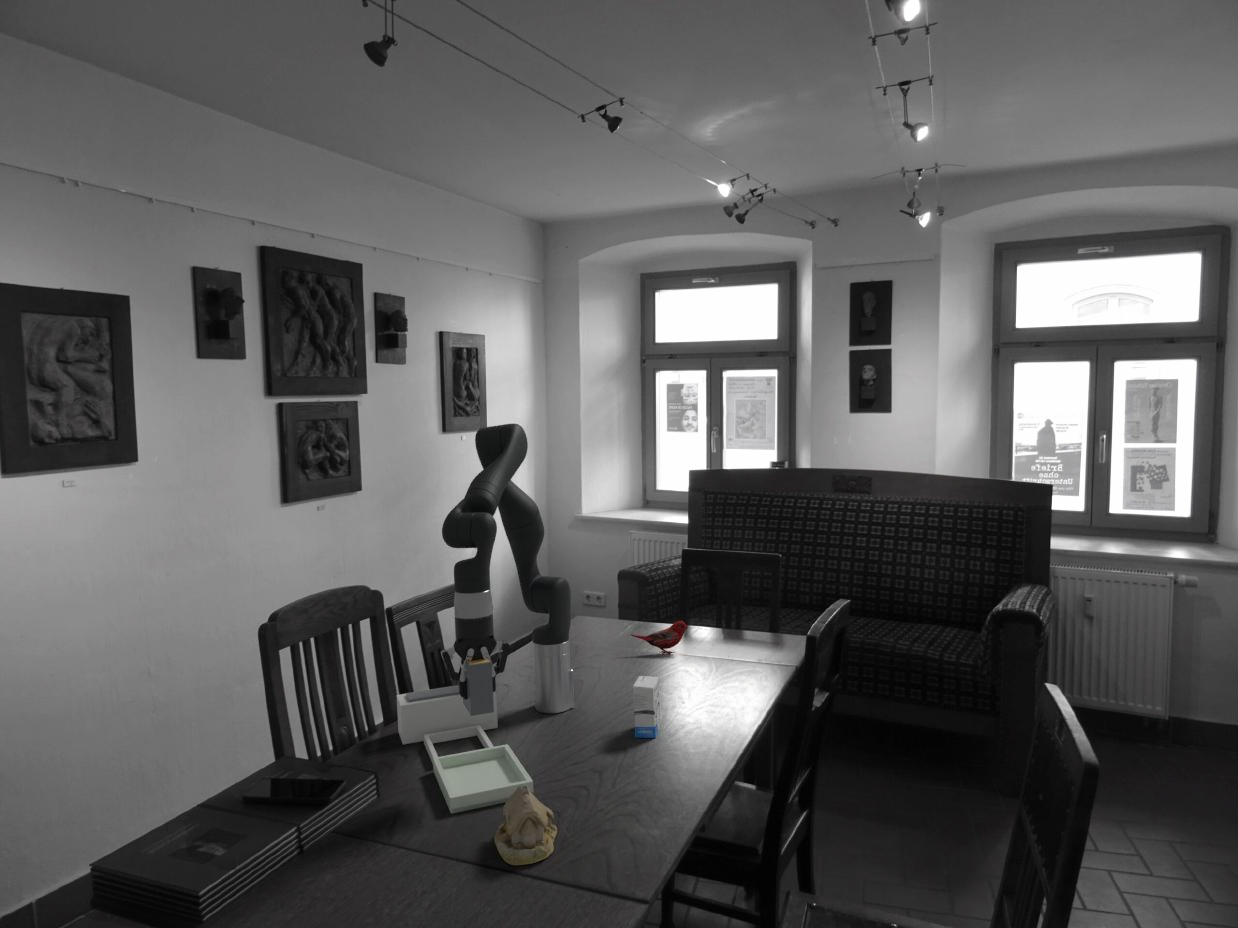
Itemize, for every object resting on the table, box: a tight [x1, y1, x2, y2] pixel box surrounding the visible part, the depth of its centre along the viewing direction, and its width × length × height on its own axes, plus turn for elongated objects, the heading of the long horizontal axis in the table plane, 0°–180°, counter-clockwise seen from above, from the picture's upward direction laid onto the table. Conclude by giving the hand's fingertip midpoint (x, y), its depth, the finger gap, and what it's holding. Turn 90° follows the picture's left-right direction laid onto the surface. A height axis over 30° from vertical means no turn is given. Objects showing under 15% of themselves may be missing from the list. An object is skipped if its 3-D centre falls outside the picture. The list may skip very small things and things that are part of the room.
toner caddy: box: [463, 659, 494, 716], centre depth 165 cm, size 4×8×10 cm, turn 22°
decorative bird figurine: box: [630, 620, 689, 655], centre depth 251 cm, size 3×18×10 cm, turn 89°
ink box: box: [632, 675, 661, 739], centre depth 191 cm, size 9×5×12 cm, turn 168°
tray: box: [432, 743, 535, 814], centre depth 167 cm, size 16×20×3 cm
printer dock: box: [396, 684, 499, 764], centre depth 188 cm, size 22×24×10 cm
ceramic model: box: [493, 785, 558, 866], centre depth 143 cm, size 14×11×10 cm
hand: (477, 695), depth 166 cm, fingers closed on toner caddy, 4 cm apart
